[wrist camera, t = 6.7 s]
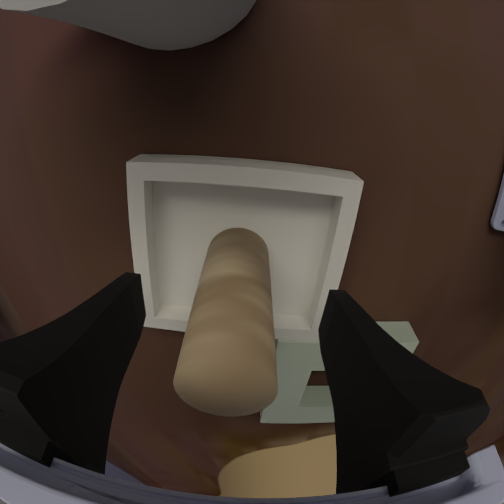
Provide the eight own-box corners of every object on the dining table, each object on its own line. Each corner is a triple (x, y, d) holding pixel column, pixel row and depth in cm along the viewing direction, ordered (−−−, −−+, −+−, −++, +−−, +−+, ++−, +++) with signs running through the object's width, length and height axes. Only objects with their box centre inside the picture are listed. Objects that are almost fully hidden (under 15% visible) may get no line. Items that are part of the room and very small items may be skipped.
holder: (408, 321, 18) (419, 341, 16) (365, 400, 22) (370, 418, 21) (276, 318, 18) (278, 341, 16) (260, 402, 22) (260, 422, 20)
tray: (351, 171, 14) (363, 181, 12) (317, 320, 18) (322, 340, 16) (140, 153, 13) (126, 161, 12) (151, 306, 18) (142, 326, 16)
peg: (278, 241, 15) (297, 373, 8) (254, 288, 16) (253, 423, 9) (219, 218, 14) (187, 342, 7) (200, 269, 16) (164, 400, 8)
